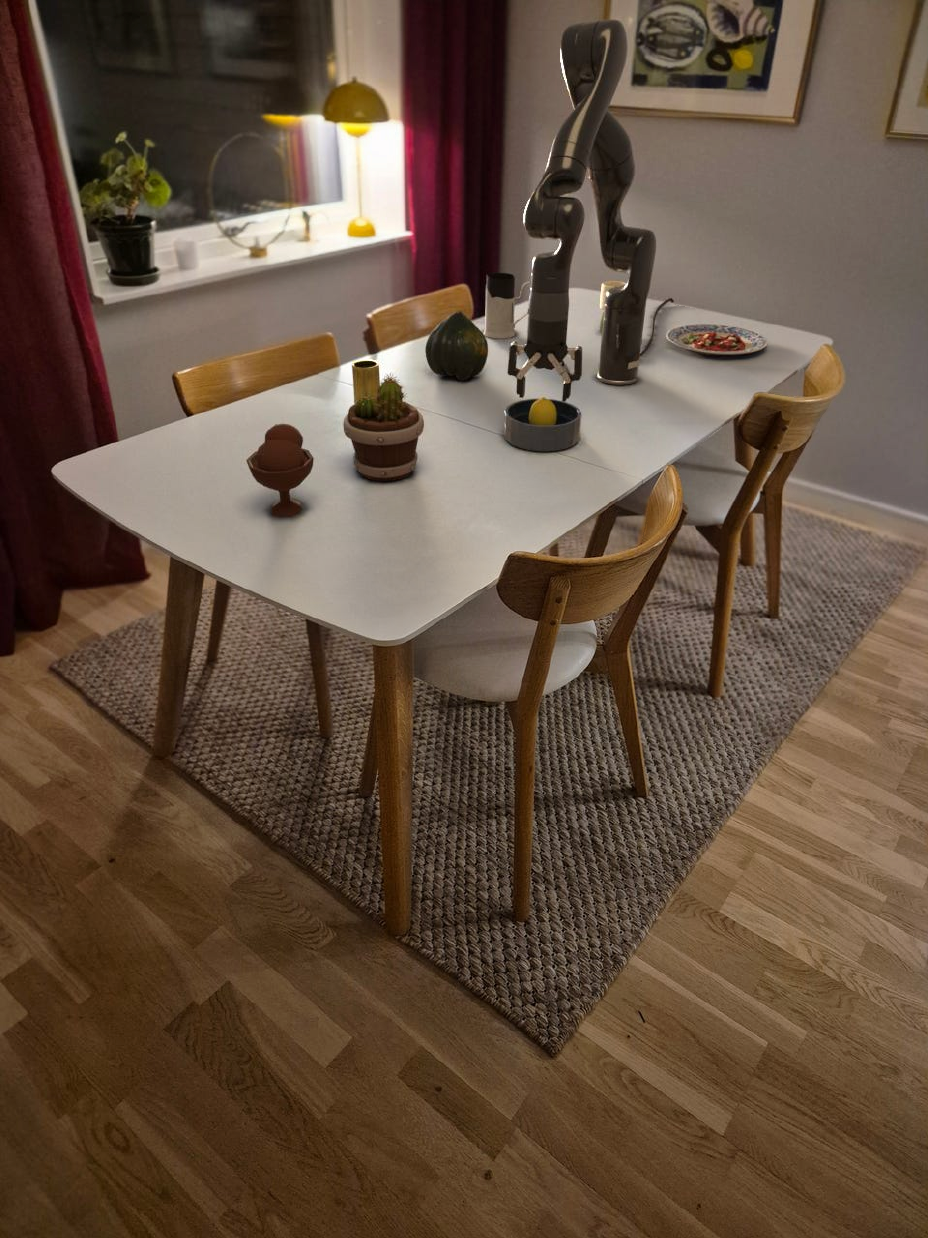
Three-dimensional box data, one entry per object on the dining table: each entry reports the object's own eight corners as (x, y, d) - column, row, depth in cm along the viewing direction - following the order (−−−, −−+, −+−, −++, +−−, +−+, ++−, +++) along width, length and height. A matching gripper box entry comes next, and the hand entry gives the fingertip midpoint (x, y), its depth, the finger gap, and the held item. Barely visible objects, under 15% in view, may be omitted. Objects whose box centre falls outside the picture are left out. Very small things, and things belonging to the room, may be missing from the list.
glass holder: (485, 328, 235) (486, 271, 226) (536, 330, 233) (539, 273, 225) (481, 337, 228) (482, 279, 219) (533, 339, 226) (536, 281, 218)
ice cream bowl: (257, 496, 149) (245, 415, 141) (320, 494, 150) (312, 414, 142) (250, 525, 141) (236, 441, 132) (317, 522, 141) (308, 439, 133)
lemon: (553, 441, 168) (556, 403, 164) (526, 439, 169) (528, 401, 165) (556, 431, 173) (559, 393, 168) (530, 429, 174) (531, 391, 169)
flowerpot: (336, 462, 161) (326, 358, 150) (411, 450, 166) (407, 348, 155) (358, 493, 150) (350, 384, 139) (438, 479, 155) (436, 372, 144)
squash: (445, 368, 190) (477, 309, 189) (404, 355, 199) (435, 299, 199) (480, 398, 201) (511, 342, 200) (440, 384, 210) (469, 331, 210)
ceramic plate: (777, 341, 225) (780, 330, 223) (748, 368, 207) (751, 356, 205) (685, 326, 236) (687, 315, 235) (650, 350, 219) (652, 339, 217)
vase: (389, 428, 175) (385, 360, 167) (377, 439, 170) (372, 370, 162) (362, 425, 177) (357, 357, 169) (349, 435, 172) (344, 366, 164)
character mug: (613, 340, 226) (618, 290, 218) (589, 336, 229) (594, 286, 222) (630, 330, 233) (636, 281, 226) (607, 326, 236) (612, 278, 229)
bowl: (511, 420, 179) (512, 395, 176) (583, 427, 176) (585, 401, 173) (497, 449, 167) (498, 422, 164) (573, 456, 164) (576, 429, 161)
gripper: (588, 311, 159) (581, 395, 168) (514, 306, 162) (511, 389, 171) (583, 322, 153) (576, 408, 162) (507, 316, 156) (504, 401, 165)
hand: (543, 398), depth 166 cm, fingers open, 8 cm apart
